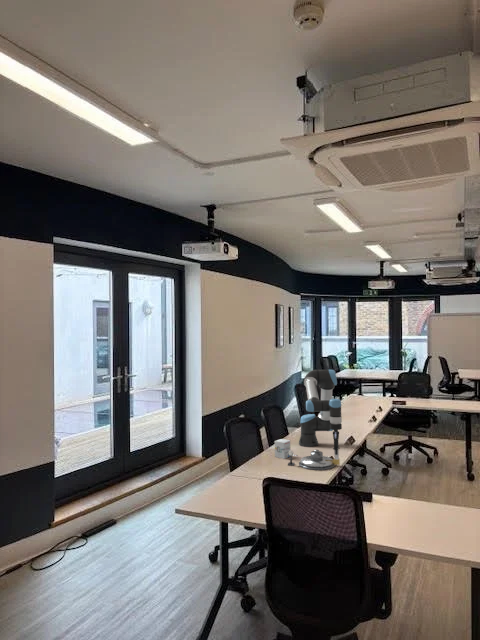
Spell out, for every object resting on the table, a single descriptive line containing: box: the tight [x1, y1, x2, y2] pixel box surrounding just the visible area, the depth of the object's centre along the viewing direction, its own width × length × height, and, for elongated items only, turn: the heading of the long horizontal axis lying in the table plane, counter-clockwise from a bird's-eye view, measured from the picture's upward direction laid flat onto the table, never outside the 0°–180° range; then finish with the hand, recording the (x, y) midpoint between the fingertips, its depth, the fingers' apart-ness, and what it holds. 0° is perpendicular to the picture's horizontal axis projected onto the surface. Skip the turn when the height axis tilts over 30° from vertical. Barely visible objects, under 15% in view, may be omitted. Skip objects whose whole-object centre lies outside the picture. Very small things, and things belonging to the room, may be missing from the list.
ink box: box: [274, 438, 292, 460], centre depth 341 cm, size 8×8×12 cm
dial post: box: [287, 450, 298, 467], centre depth 320 cm, size 4×6×10 cm, turn 75°
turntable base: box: [298, 461, 336, 471], centre depth 319 cm, size 24×24×1 cm
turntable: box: [299, 455, 341, 468], centre depth 318 cm, size 22×26×3 cm
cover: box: [310, 449, 324, 462], centre depth 319 cm, size 8×8×6 cm
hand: (336, 459), depth 309 cm, fingers closed
